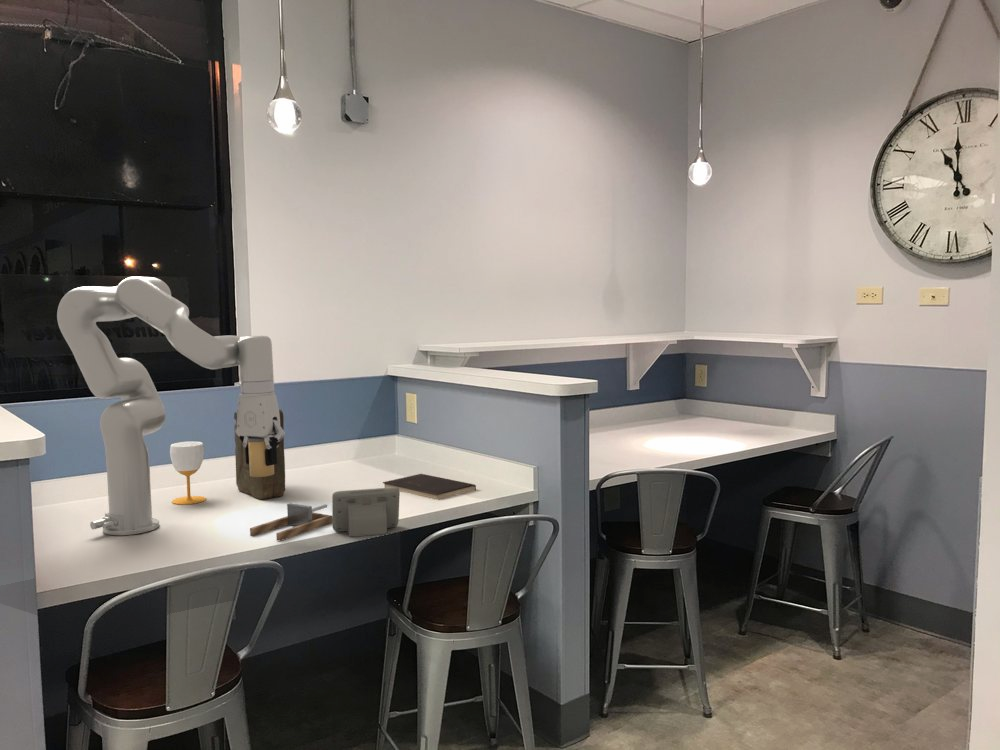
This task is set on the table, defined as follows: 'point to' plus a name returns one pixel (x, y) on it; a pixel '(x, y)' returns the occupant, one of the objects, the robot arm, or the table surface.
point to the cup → (187, 466)
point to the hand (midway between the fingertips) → (261, 463)
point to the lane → (316, 522)
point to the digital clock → (365, 511)
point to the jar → (258, 458)
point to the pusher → (301, 513)
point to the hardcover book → (430, 486)
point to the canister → (260, 485)
